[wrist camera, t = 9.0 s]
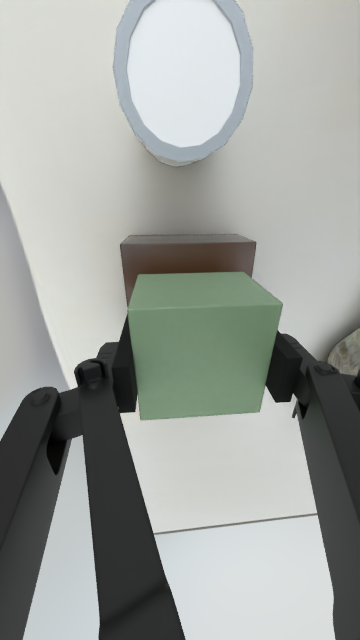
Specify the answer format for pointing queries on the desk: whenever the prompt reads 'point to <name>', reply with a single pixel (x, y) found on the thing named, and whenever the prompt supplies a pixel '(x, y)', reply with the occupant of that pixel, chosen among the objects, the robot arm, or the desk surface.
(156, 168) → the desk surface
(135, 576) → the robot arm
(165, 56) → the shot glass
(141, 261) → the walnut block
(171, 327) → the green block
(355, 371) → the decorative bird
